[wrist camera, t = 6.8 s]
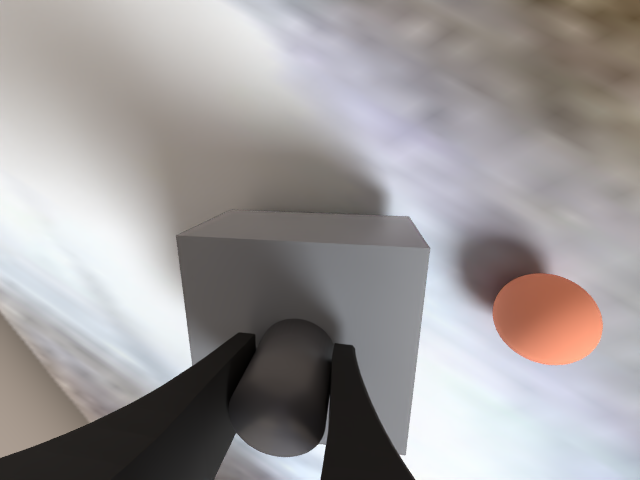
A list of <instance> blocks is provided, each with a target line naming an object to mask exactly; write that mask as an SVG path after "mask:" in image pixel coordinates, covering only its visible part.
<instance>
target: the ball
mask: <svg viewBox="0 0 640 480" xmlns="http://www.w3.org/2000/svg"><path fill="white" fill-rule="evenodd" d="M493 320H494V324H495V327H496V330H497V332H498V333H499V335H500V337H501V338H502V340H503V341H504V342H505V343H506V344H507V345H508V346H509V347H510V348H511V349H512V350H513V351H515V352H516V353H518V354H519V355H521V356H523V357H525V358H526V359H529V360H531V361H534V362H538V363H542V364H548V365H563V364H569V363H573V362H576V361H578V360H581V359H582V358H584V357H586V356H587V355H589V354H590V353H591V352H592V351H593V350H594V349H595V347H596V346H597V344H598V343H599V341H600V338H601V335H602V329H603V323H602V316H601V313H600V310H599V308H598V306H597V304H596V303H595V301H594V300H593V298H592V297H591V296H590V295H589V294H588V293H587V292H586V291H585V290H584V289H583V288H581V287H580V286H579V285H577V284H576V283H574V282H572V281H570V280H568V279H566V278H563V277H560V276H557V275H551V274H543V273H537V274H528V275H524V276H520V277H518V278H516V279H514V280H512V281H510V282H509V283H507V284H506V285H505V286H504V287H503V288H502V289H501V290H500V292H499V293H498V295H497V296H496V299H495V301H494V305H493Z"/></svg>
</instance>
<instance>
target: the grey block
mask: <svg viewBox="0 0 640 480" xmlns="http://www.w3.org/2000/svg"><path fill="white" fill-rule="evenodd" d="M176 239H177V247H178V255H179V263H180V270H181V278H182V286H183V294H184V302H185V310H186V318H187V326H188V334H189V342H190V350H191V358H192V366H193V365H195V364H196V363H197V362H199V361H200V360H202V359H203V358H204V357H206V356H207V355H208V354H210V353H211V352H213V351H214V350H215V349H217V348H218V347H219V346H221V345H222V344H223V343H225V342H226V341H227V340H229V339H230V338H231V337H233V336H234V335H236V334H237V333H239V332H242V333H251V334H255V340H256V352H255V353H254V355H253V357H252V359H251V361H250V363H249V365H248V367H247V368H246V370H245V372H244V374H243V376H242V378H241V380H240V382H239V384H238V385H237V387H236V389H235V391H234V393H233V395H232V397H231V399H230V402H229V418H230V421H231V424H232V426H233V428H234V430H235V431H236V433H237V434H238V435H239V436H240V437H241V438H242V439H243V440H244V441H245V442H246V443H247V444H248V445H250V446H251V447H253V448H254V449H256V450H258V451H260V452H263V453H265V454H269V455H272V456H278V457H293V456H298V455H302V454H304V453H307V452H309V451H310V450H312V449H313V448H315V447H316V446H317V445H318V444H324V445H326V442H327V435H328V423H329V403H330V385H331V366H332V353H333V348H334V344H335V343H338V344H347V345H353V346H354V348H355V352H356V358H357V362H358V366H359V370H360V373H361V376H362V379H363V382H364V384H365V387H366V390H367V392H368V395H369V397H370V400H371V402H372V404H373V406H374V409H375V411H376V413H377V415H378V417H379V419H380V421H381V423H382V425H383V427H384V429H385V431H386V433H387V435H388V436H389V438H390V440H391V442H392V444H393V445H394V447H395V449H396V450H397V452H398V454H400V455H406V447H407V439H408V430H409V422H410V413H411V405H412V397H413V388H414V380H415V371H416V363H417V354H418V346H419V338H420V329H421V321H422V312H423V304H424V296H425V287H426V279H427V270H428V262H429V253H430V247H429V246H428V244H427V243H426V241H425V240H424V238H423V237H422V235H421V234H420V232H419V231H418V229H417V228H416V226H415V225H414V223H413V222H412V220H411V219H410V217H408V216H382V215H356V214H330V213H304V212H278V211H252V210H230V211H228V212H225V213H223V214H221V215H219V216H217V217H215V218H213V219H210V220H208V221H206V222H204V223H202V224H200V225H198V226H195V227H193V228H191V229H189V230H187V231H185V232H183V233H180V234H178V235H176Z"/></svg>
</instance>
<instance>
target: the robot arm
mask: <svg viewBox="0 0 640 480" xmlns="http://www.w3.org/2000/svg"><path fill="white" fill-rule="evenodd" d="M255 352H256V340H255V334H251V333H242V332H239V333H237V334H236V335H234V336H233V337H231V338H230V339H229V340H227V341H226V342H225V343H223V344H222V345H221V346H219V347H218V348H217V349H215V350H214V351H213V352H211V353H210V354H208V355H207V356H206V357H204V358H203V359H202V360H200V361H199V362H197V363H196V364H195V365H193V366H192V367H190V368H189V369H187V370H186V371H184V372H182V373H181V374H179V375H178V376H176V377H175V378H173V379H172V380H170V381H169V382H167V383H166V384H164V385H162V386H161V387H159V388H157V389H156V390H154V391H152V392H151V393H149V394H147V395H145V396H143V397H142V398H140V399H138V400H136V401H134V402H132V403H131V404H129V405H127V406H125V407H123V408H121V409H119V410H117V411H114V412H112V413H110V414H108V415H106V416H104V417H102V418H100V419H98V420H96V421H94V422H92V423H89V424H87V425H85V426H83V427H80V428H78V429H76V430H73V431H71V432H69V433H66V434H64V435H61V436H59V437H57V438H54V439H51V440H49V441H47V442H44V443H41V444H39V445H36V446H34V447H31V448H28V449H26V450H23V451H20V452H17V453H14V454H11V455H8V456H5V457H2V458H0V480H214V478H215V476H216V474H217V471H218V469H219V467H220V465H221V463H222V461H223V459H224V457H225V455H226V453H227V451H228V449H229V446H230V444H231V442H232V440H233V438H234V436H235V434H236V431H235V430H234V428H233V426H232V424H231V421H230V418H229V402H230V399H231V397H232V395H233V393H234V391H235V389H236V387H237V385H238V384H239V382H240V380H241V378H242V376H243V374H244V372H245V370H246V368H247V367H248V365H249V363H250V361H251V359H252V357H253V355H254V353H255ZM321 480H415V479H414V477H413V476H412V474H411V473H410V471H409V470H408V468H407V467H406V465H405V464H404V462H403V460H402V459H401V457H400V455H399V454H398V452H397V450H396V449H395V447H394V445H393V444H392V442H391V440H390V438H389V436H388V435H387V433H386V431H385V429H384V427H383V425H382V423H381V421H380V419H379V417H378V415H377V413H376V411H375V409H374V406H373V404H372V402H371V400H370V397H369V395H368V392H367V390H366V387H365V384H364V382H363V379H362V376H361V373H360V370H359V366H358V362H357V358H356V352H355V348H354V346H353V345H347V344H338V343H335V344H334V348H333V353H332V366H331V385H330V403H329V423H328V435H327V442H326V448H325V455H324V462H323V468H322V474H321Z"/></svg>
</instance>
